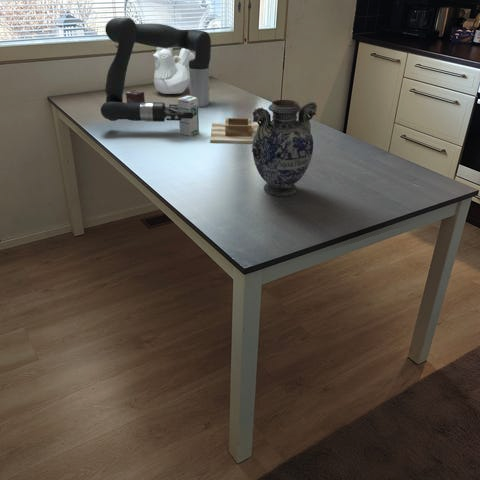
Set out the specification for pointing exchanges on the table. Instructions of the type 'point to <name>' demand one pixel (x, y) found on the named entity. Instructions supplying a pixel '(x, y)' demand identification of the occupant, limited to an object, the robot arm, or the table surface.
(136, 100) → the box
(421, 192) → the table surface
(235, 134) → the socket board
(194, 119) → the syrup box
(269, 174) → the decorative vase
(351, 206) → the table surface
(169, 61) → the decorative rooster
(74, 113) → the table surface
